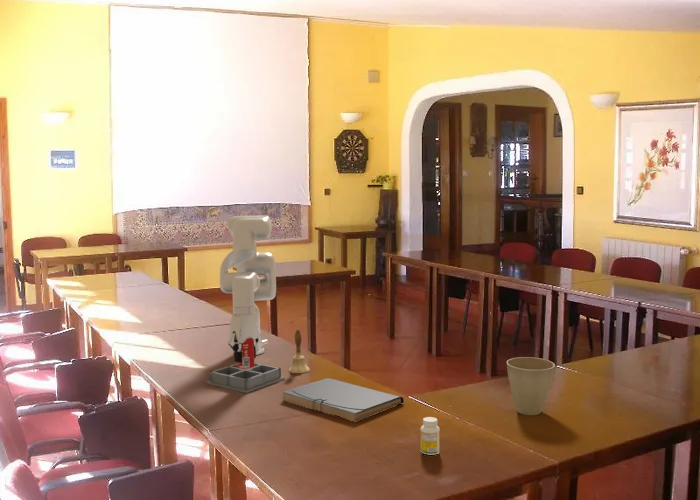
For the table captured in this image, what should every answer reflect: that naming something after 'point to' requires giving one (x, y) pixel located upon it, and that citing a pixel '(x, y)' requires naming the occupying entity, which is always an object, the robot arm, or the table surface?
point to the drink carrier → (245, 377)
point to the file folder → (341, 399)
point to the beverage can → (247, 355)
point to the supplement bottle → (430, 436)
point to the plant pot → (530, 383)
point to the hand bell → (298, 357)
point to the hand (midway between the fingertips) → (245, 359)
